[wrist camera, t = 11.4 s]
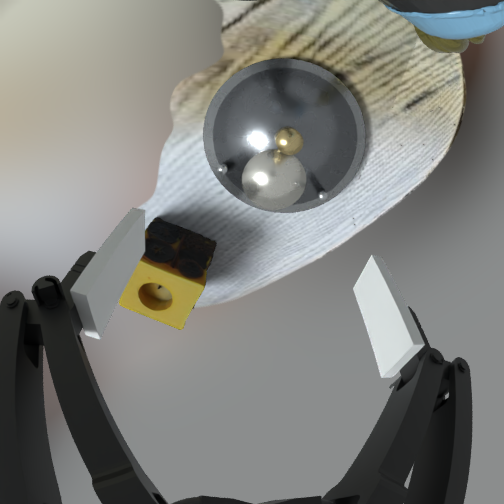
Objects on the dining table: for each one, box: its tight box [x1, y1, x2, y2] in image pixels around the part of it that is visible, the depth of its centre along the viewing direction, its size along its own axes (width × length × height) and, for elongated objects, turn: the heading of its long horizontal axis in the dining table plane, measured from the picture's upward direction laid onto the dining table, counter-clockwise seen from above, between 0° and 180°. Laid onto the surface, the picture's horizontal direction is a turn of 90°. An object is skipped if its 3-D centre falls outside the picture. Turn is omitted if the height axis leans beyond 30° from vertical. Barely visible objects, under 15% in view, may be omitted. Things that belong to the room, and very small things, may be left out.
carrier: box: [203, 59, 366, 213], centre depth 29 cm, size 20×20×4 cm
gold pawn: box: [414, 25, 485, 53], centre depth 16 cm, size 7×7×10 cm
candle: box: [119, 218, 217, 330], centre depth 37 cm, size 10×10×10 cm
